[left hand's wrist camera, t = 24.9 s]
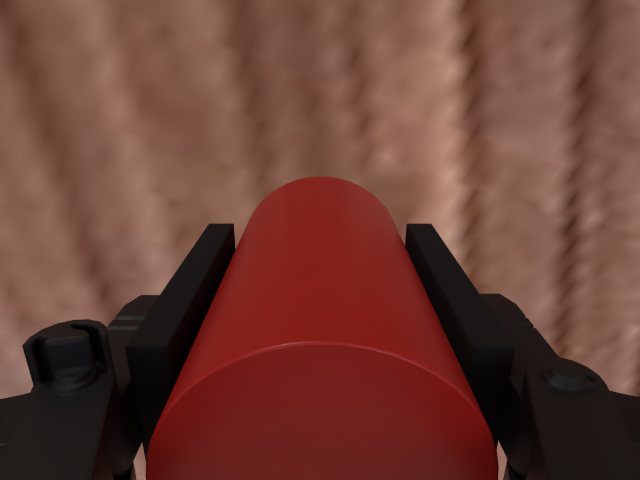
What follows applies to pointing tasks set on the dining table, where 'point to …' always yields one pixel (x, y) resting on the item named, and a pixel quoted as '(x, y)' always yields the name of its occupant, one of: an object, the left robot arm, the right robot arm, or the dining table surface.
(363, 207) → the can
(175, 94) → the dining table surface
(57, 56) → the dining table surface
